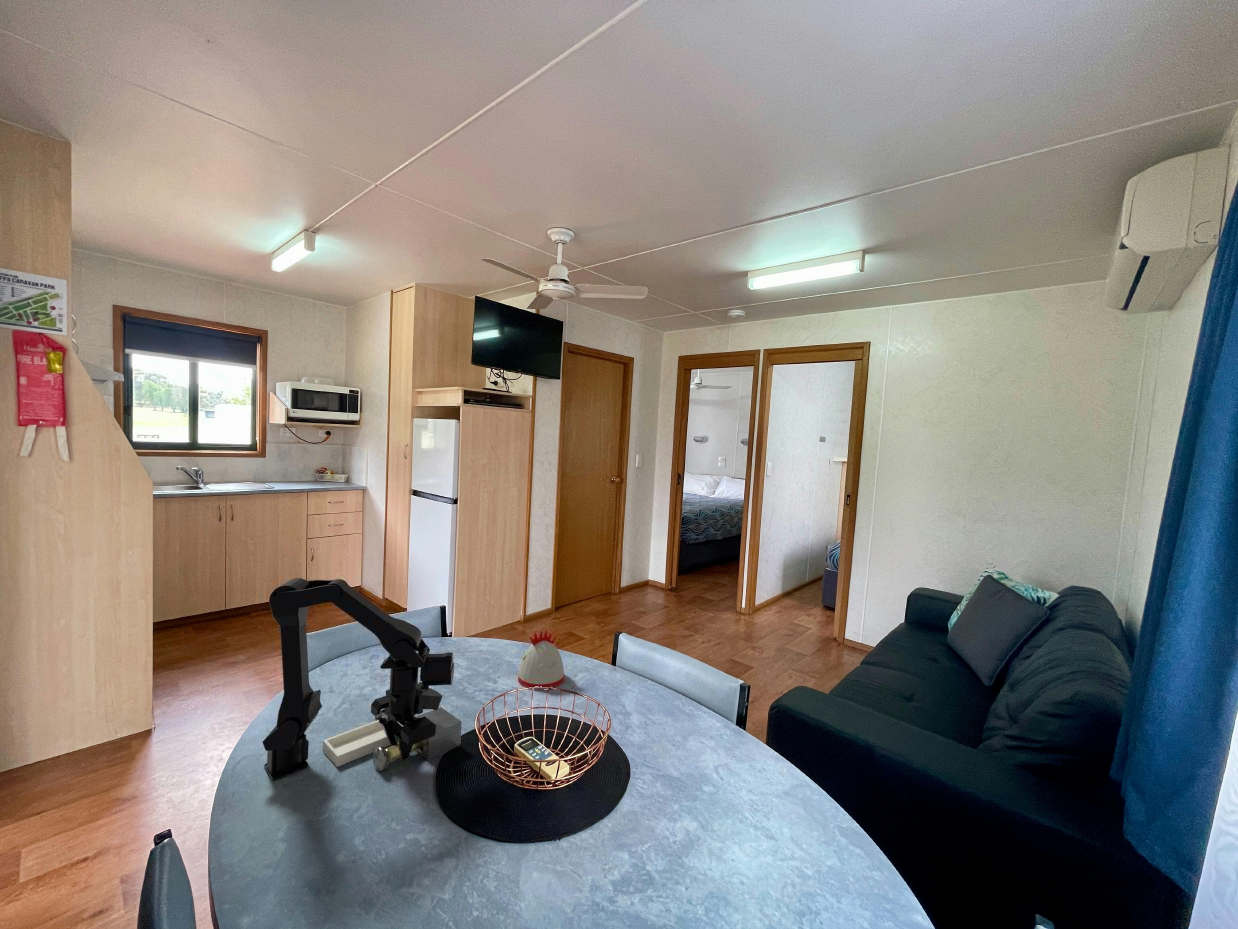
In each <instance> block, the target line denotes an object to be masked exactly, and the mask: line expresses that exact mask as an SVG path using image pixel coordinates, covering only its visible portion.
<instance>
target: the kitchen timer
mask: <svg viewBox="0 0 1238 929" xmlns="http://www.w3.org/2000/svg"><path fill="white" fill-rule="evenodd" d="M537 635H538V636H537ZM552 635H553V634H552V632H549V633H548V631H547V629H545V630H544V632H543V631H542V630H540V631H539V634H537V632H536V631H534V632H533V638H532V637H531V636H530V635H529V637H528V638H529V640H530V642H531V643H532V644H531V645H530V646H529V647H528V648H527V649H526V651H525V653H524V654H523V657H522V660H521V661H520V665H519V668H518V674H517V675H518V676H517V682H518V683H519V684H520V685H521V686H522V687H524V688H527V687H535V686H539V687H540V686H542V687H554V688H556V687H558V686H560V685H561V684H563V682H564V681H565V670H564V669H565V668H564V664H563V659H562V656H561V653H560V651H559V650H558V648H557V647H556V646H555V645H554V643H555V641H556V638H557V636H556V635H554V636H552ZM551 637H552V639H551Z"/></svg>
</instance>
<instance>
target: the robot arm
mask: <svg viewBox="0 0 1238 929" xmlns="http://www.w3.org/2000/svg"><path fill="white" fill-rule="evenodd" d="M268 602H269V607H270V611H271V615H272V618H273V619H274V620H275V622H276V623H277V626H279V631H280V646H281V647H280V648H281V664H282V669H281V670H282V682H283V686H282V687H283V696H282V699H281V702H280V703H281V704H280V706H279V709H278V712H277V720H276V725H275V726H274V728H273V729H272V730H271V731H270V732H269V733H268V735H267V736H266V737H265V738H264V739H263V741H262V744H263V747H264V749H265V751H266V753H267V755H266V756H267V757H266V758H267V759H266V763H265V764H264V765H263V768H264V770H265V771H266V772H267V774H268V775H269V777H270V778H271V779H272V780H273V781H275V780H278V779H281V778H283V777H287V776H289V775H291V774H293V773H296V772H299V771H301V770H304V769H306V768H308V767H309V763H308V761H307V760H309V743H310V742H309V740H308V739H307V734H306V733H305V732H306V731H307V730H308V729H309V727H310V726H312V723H313V722H314V721H315V719H316V718H317V716H318V714H319V712H320V710H321V709H322V708H323V704H322V702H321V693H322V691H321V689H318V690H313V688H312V687H311V685H310V677H309V676H310V674H309V673H310V672H309V670H310V669H309V656H308V655H309V654H308V638H307V633H308V632H307V618H308V615H309V611H310V608H311V606H316V605H320V604H326V603H327V604H328V603H331V604H333V605H334V606H335V607H336V608H338V609H340V610H341V611H342V612H343V613H345V614H346V615H348V617H350V618H351V619H353V620H354V621H356V622H357V623H359V624H360V625H361V626H362V627H364V628H365V629H367V630H368V631H369V632H370V633H372V634H373V635H374V636H375V637H376V638H377V639H378V641H379V642H380V645H381V646H382V648H384V650H385V651H386V652H387V653H388V654H389V655H388V657H386V658H384V660H383V662H382V663H381V664H380V667H379V668H380V669H382V670H384V669H387V670H388V669H389V670H390V671H389V673H390V674H389V689H386V690H385V695H383V696H381V697H377V698H375V699H374V700H373V702H372V703H371V704H370V713H371V714H372V715H373V716H374V717H375V718H376V716H379V714H380V710H381V709H384V708H385V710H382V711H381V713H382V717H380V718H378V720H379V723H380V724H381V726H382V728H383V730H384V732H385V734H386V736H387V738H388V740H389V742H390V744H391V745H390V747H391V746H394V745H396V744H397V745H398V748H399V751H400V754H401V757H400V758H401V760H403V761H405V760H407V759H409V757H410V754H411V753H412V752H411V749H412V747H413V745H414V744H416V743H418V742H421V741H423V740H425V739H428V738H430V737H432V736H435V734H436V724H435V723H433V722H432V721H431V720H429V719H428V718H426V717H425V716H424V717H422V718H416V717H417V716H416V715H422V714H424V713H423V712H424V710H438V708H440V705H441V701H442V699H443V696H444V695H443V694H441V693H440V692H439V691H437V690H436V689H433V688H431V687H432V686H436V687H437V686H452V685H453V682H454V681H453V680H454V675H455V674H454V673H455V662H454V653H453V652H452V651H451V652H443V653H430V652H431V648H429V646H428V644H427V643H426V642H425V641H424V639H423V638H422V631H421V630H420V628H418V627H417V626H416V625H414V624H412V623H410V622H408V621H406V620H403V619H400V618H395V617H393V616H391V615H389V613H387V612H386V611H384V610H382V609H381V608H380V607H379V606H377V604H375V603H373V602H372V601H371V600H369V599H368V598H367V597H365V596H364V595H363V594H361V592H358V591H357V590H356V589H354V587H352V586H351V585H349V584H348V582H347V581H346V580H344V579H341V578H337V579H312V580H311V579H310V580H306V579H304V578H301V577H300V578H299V577H295V578H292V579H290V580H287V581H286V582H285V583H283V584H281V585H280V586H278V587H276V588H275V589H273V591H272V592H271V593H270V595H269V599H268ZM419 671H420V672H419ZM410 752H411V753H410Z"/></svg>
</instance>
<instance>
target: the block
mask: <svg viewBox="0 0 1238 929" xmlns="http://www.w3.org/2000/svg"><path fill="white" fill-rule="evenodd" d="M424 716H425V717H426V718H428V719H429V720H431V721H432V722H433V723H435V724H436V734H435V736H432V737H430V738H428V739H425V740H424V746H423V748H420V749H418V750H416V751H415V752H417V753H419V754H420V755H421V756H422V757H423V758H424V759H426V760H427V761H428V762H429V761H431V760H433V759H435V758H438V757H439V756H442V755H444V754H446V753H448V751H449V750H451V749H452V748H455V747H456V746H459V745H460V744H462V742H461V741H462V724H463V723H462V720H460V719H459V718H457V717H456V716H454V715H453V714H452V713H450V712H449V711H448V710H446V709H445V708H443V707H441V706H439V708H438V710H434V709H431V710H430V711H428V712H425V713H421V714H418V715H417V716H415V717H416V718H422V717H424ZM459 747H460V746H459ZM455 749H456V748H455ZM451 751H452V750H451ZM449 752H450V751H449Z"/></svg>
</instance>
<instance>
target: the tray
mask: <svg viewBox="0 0 1238 929" xmlns="http://www.w3.org/2000/svg"><path fill="white" fill-rule="evenodd" d="M380 746H383V747H384V748H386V747H387V748H388V747H390V746H391V744H390V742H389V740H388V738H387V736H386V734H385V732H384V730H383V728H382V726H381V724H380V723H379V719H378V720H375V721H371V722H370V723H366V724H364V725H361V726H358V727H356V728H352V729H351V730H348V731H345V732H342V733H339V734H337V735H334V736H332V737H329V738H326V739H323V740H322V752H324V754H325V755H326V756H327V758H329V760H330V761H331V762H332V763H333V764H334V765H335V766H336V767H337V768H339V767H340V766H342V765H345V764H347V763H351V762H352V761H355V760H357V759H360V758H362V757H365V756H367V755H369V754H371V753H372V754H373V750H374V749H375V748H377V747H380Z"/></svg>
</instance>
